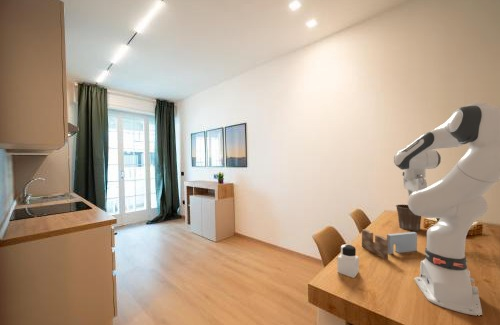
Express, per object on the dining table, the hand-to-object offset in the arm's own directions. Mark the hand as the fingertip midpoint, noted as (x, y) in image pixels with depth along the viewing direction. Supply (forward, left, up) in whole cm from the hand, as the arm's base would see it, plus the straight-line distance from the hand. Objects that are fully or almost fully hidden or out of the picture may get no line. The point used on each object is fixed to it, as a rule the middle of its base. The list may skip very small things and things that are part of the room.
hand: (414, 199), depth 112 cm
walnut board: (-9, +18, -30) cm, 36 cm away
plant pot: (+51, -2, -30) cm, 59 cm away
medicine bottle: (-39, +27, -30) cm, 56 cm away
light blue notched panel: (0, +5, -30) cm, 30 cm away
